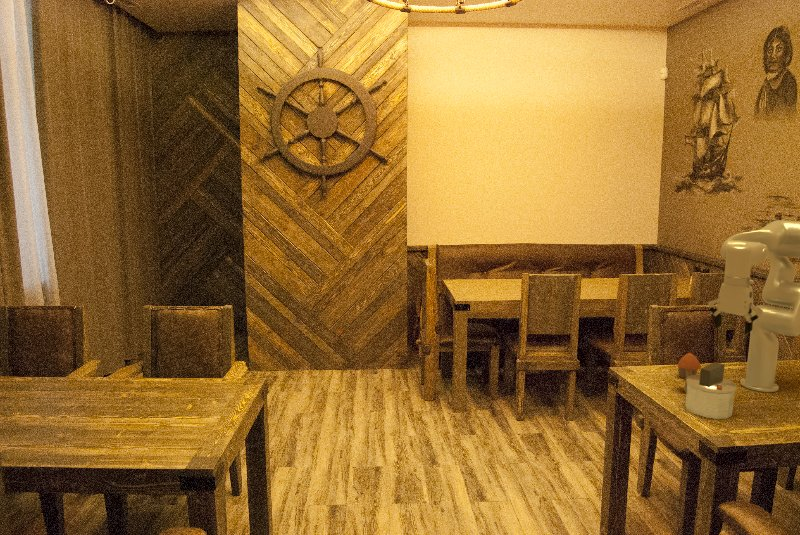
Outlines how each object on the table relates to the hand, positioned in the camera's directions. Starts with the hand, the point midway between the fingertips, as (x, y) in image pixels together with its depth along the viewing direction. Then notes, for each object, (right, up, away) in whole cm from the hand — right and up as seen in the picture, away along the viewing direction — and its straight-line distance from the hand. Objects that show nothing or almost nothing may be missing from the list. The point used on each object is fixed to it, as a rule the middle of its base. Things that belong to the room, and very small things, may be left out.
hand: (732, 329), depth 207 cm
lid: (-8, -21, -1) cm, 22 cm away
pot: (-8, -28, +1) cm, 29 cm away
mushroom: (-7, -25, +18) cm, 32 cm away
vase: (0, -23, +33) cm, 40 cm away
